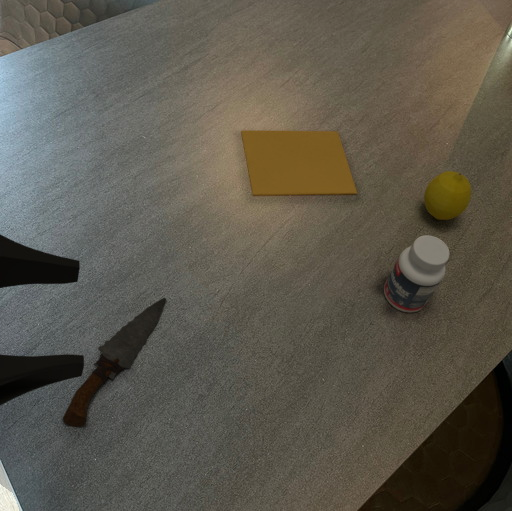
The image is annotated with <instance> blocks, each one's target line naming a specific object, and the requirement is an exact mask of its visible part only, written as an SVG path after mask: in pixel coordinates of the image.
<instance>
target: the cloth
mask: <svg viewBox="0 0 512 511" xmlns="http://www.w3.org/2000/svg"><path fill="white" fill-rule="evenodd" d="M240 134H241V138H242V143H243V144H242V145H243V150H244V156H245V160H246V165H247V166H246V167H247V172H248V177H249V182H250V188H251V193H252V196H253V197H254V196H255V197H258V196H259V197H261V196H263V197H265V196H268V197H269V196H332V195H333V196H342V195H343V196H345V195H346V196H349V195H350V196H352V195H353V196H354V195H358V191H357V187H356V184H355V181H354V178H353V175H352V171H351V169H350V164H349V162H348V158H347V156H346V152H345V150H344V147H343V143H342V140H341V136H340V133H339V131H338V130H336V131H335V130H241V132H240Z"/></svg>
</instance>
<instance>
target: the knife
mask: <svg viewBox="0 0 512 511" xmlns="http://www.w3.org/2000/svg"><path fill="white" fill-rule="evenodd" d="M166 302H167V298H166V297H163V298H161V299H160V300H157V301H156V302H154V303H152V304H151V305H149V306H148V307H147V308H145V309H144V310H143V311H141V312H140V313H139V314H138V315H136V316H134V318H133V320H130V321H128V322H127V324H126V325H124V326H123V325H122V327H121V328H120V330H118V331H117V332H116V333H115V335H112V336H111V338H110V339H109V340H105V341H104V344H103V345H100V346H98V347H97V349H98V351H99V352H100V353H101V354H100V356H99V358H98V360H96V361H95V362H94V363H93V364H92V365H93V366H94V367H96V368H94V369H93V370H92V371H91V374H90V375H89V376H88V377H87V378H86V380H85V381H84V382H83V384H81V385H80V387H78V388H77V390H76V391H75V393H74V395H73V396H72V398H71V399H70V402H69V405H68V406H67V408H66V411H65V413H64V414H63V416H62V421H63V423H64V424H65V425H66V426H70V427H79V428H80V427H81V428H82V427H83V426H85V424H86V422H87V415H88V413H87V410H88V407H89V404H90V401H91V399H92V397H93V396H94V394H95V393H96V392H97V391H98V389H99V388H100V387H101V386H102V385H103V384H105V383H106V381H107V380H108V378H110V379H111V380H115V378H116V377H115V376H116V375H118V374H119V372H121V371H123V370H124V369H127V370H130V369H131V366H132V365H133V363H134V361H135V359H136V358H137V357H138V353H139V351H142V349H143V348H142V347H143V346H144V345H145V344H147V339H148V338H149V336H150V334H151V333H152V332H153V331H154V330H155V327H156V326H157V325H158V323H159V320H160V317H161V315H162V314H163V310H164V307H165V304H166Z"/></svg>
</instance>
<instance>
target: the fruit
mask: <svg viewBox="0 0 512 511" xmlns="http://www.w3.org/2000/svg"><path fill="white" fill-rule="evenodd" d="M424 190H425V191H424V193H423V194H424V195H423V202H424V207H425V209H426V210H427V213H429V214H430V215H431V216H432V217H433V218H435V219H436V220H439V221H441V220H443V221H449V220H451V219H455V218H457V217H459V216H460V215H462V213H464V212H465V211H466V210H467V208H468V207H469V204H470V201H471V197H472V186H471V183H470V181H469V179H468V178H467V177H466V176H465V175H463V174H462V173H460V172H457V171H454V170H447V171H442V172H441V173H439V174H438V175H437V176H435V177H433V178H432V179H431V180H430V181H429V182H428V184H427V186H426V188H425V189H424Z"/></svg>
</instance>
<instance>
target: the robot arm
mask: <svg viewBox="0 0 512 511" xmlns="http://www.w3.org/2000/svg"><path fill="white" fill-rule="evenodd" d="M80 264H81V263H80V260H77V259H74V258H68V257H65V256H60V255H56V254H52V253H48V252H45V251H42V250H39V249H35V248H32V247H29V246H27V245H24V244H22V243H19V242H17V241H15V240H13V239H10V238H9V237H7V236H5V235H2V234H1V233H0V289H4V288H10V287H17V286H18V287H19V286H26V285H66V284H73V283H78V282H79V276H80V268H81V265H80ZM84 367H85V355H83V354H67V353H66V354H50V355H30V356H29V355H13V354H11V355H10V354H2V353H1V354H0V406H3V405H4V404H6V403H8V402H10V401H12V400H14V399H16V398H18V397H21V396H22V395H25V394H27V393H30V392H33V391H35V390H39V389H41V388H43V387H46V386H50V385H53V384H56V383H59V382H63V381H67V380H72V379H75V378H80V377H83V374H84Z"/></svg>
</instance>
